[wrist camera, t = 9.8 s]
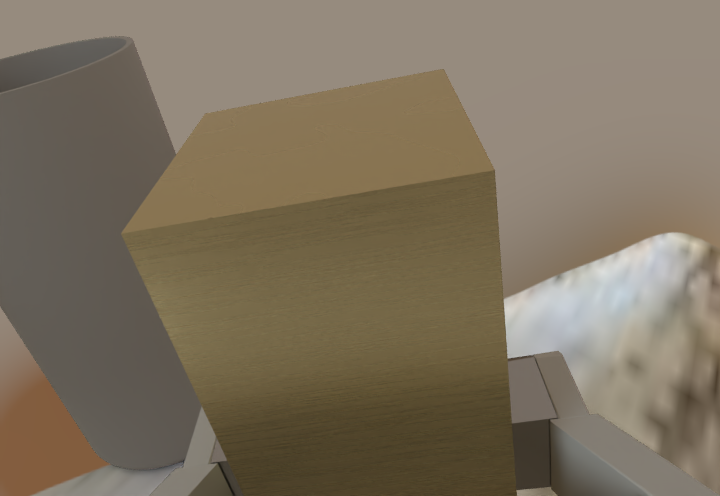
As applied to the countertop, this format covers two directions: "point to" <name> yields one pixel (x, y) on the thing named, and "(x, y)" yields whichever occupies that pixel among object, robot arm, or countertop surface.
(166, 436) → the tall grey cup
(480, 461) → the lock bar
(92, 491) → the countertop surface
